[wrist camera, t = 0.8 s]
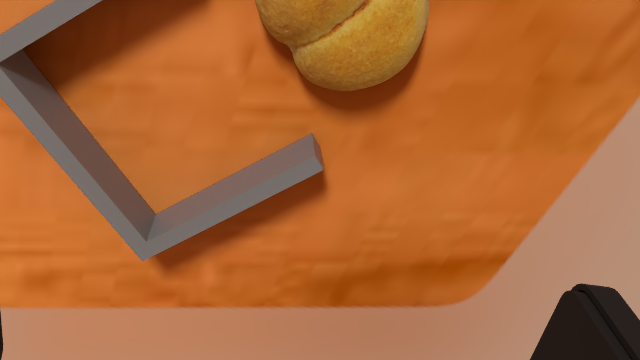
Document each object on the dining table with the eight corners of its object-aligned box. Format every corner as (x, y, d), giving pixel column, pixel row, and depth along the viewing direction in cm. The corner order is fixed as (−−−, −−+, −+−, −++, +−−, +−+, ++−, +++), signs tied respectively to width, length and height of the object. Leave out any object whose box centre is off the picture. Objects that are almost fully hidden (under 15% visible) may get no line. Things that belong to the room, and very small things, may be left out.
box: (185, -80, 29) (176, -74, 26) (320, 146, 35) (323, 169, 32) (-8, 39, 31) (-35, 56, 28) (151, 233, 37) (142, 261, 34)
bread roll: (332, 106, 34) (338, 134, 30) (231, -23, 30) (225, -8, 27) (454, 19, 32) (476, 39, 29) (363, -130, 28) (375, -129, 25)
